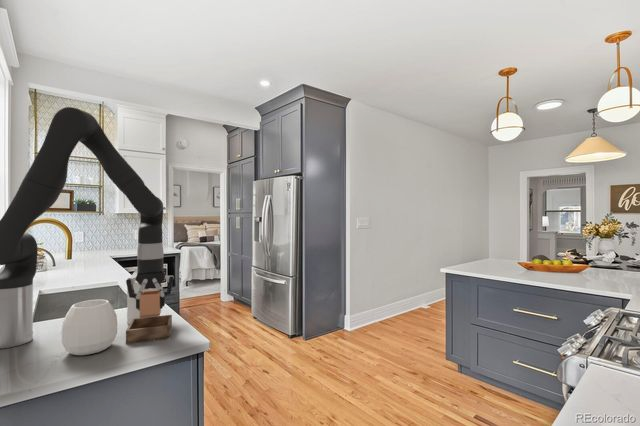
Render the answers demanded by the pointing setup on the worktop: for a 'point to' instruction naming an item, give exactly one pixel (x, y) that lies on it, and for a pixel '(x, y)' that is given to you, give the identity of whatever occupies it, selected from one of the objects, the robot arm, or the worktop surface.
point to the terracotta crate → (150, 304)
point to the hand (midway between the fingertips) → (150, 308)
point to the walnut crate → (149, 329)
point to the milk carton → (134, 301)
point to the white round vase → (89, 327)
